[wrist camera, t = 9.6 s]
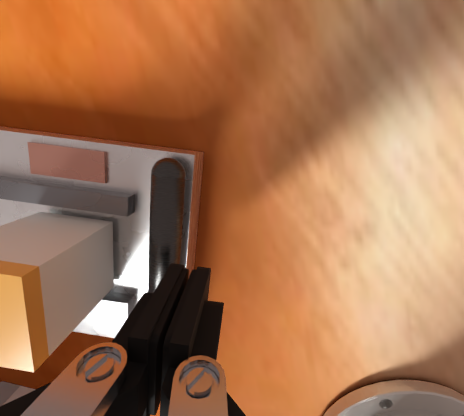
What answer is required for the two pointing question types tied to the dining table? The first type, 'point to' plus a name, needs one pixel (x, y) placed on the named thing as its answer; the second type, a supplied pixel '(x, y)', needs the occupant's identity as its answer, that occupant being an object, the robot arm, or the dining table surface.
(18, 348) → the toggle
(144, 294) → the robot arm
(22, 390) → the circuit breaker
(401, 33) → the dining table surface
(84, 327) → the panel
